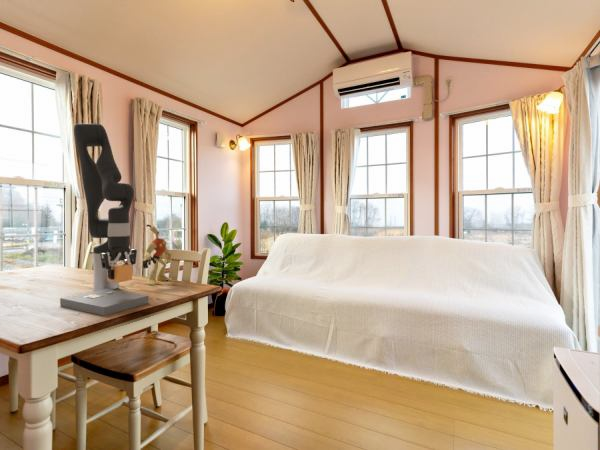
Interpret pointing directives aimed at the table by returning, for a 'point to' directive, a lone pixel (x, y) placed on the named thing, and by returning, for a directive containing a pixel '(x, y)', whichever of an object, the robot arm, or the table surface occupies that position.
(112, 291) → the panel
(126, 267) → the orange cube
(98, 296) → the button
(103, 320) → the table surface
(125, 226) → the robot arm
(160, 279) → the toy
